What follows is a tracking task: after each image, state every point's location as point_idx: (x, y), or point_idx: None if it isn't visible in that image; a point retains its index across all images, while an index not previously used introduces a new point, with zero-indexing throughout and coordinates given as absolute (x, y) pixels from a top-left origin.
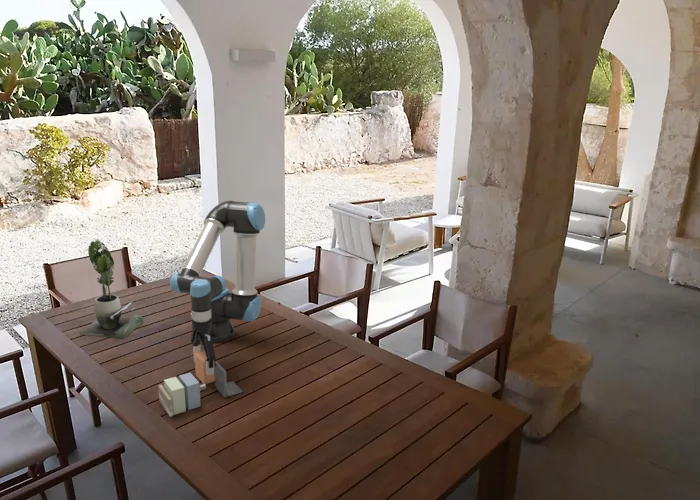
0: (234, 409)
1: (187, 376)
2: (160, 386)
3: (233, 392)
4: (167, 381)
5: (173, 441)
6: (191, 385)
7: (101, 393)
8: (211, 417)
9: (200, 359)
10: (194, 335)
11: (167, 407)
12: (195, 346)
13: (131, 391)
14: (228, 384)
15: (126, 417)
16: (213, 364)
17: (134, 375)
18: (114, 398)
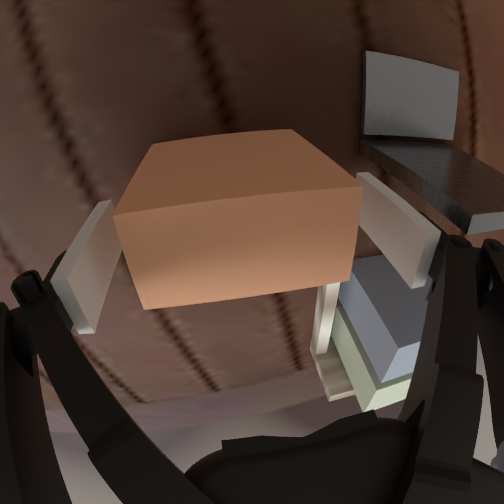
0: (498, 159)
1: (415, 356)
2: (340, 396)
3: (449, 110)
4: (383, 404)
5: None
6: None
7: (184, 425)
8: (479, 234)
9: (294, 288)
10: (42, 435)
11: None
12: (79, 319)
13: (203, 394)
14: (384, 89)
15: (324, 394)
16: (409, 205)
17: (104, 381)
18: (222, 414)
